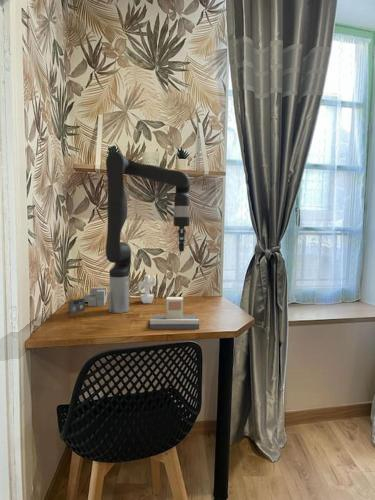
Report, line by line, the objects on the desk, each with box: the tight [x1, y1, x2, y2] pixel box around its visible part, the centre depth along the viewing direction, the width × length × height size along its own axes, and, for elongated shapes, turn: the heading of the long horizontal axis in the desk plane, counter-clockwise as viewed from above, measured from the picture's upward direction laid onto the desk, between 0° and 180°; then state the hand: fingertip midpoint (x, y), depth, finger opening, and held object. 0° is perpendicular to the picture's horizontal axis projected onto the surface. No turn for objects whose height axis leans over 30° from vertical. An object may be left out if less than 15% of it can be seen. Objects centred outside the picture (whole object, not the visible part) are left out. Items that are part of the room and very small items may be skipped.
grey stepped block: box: [82, 286, 108, 307], centre depth 165 cm, size 12×12×8 cm
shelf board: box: [149, 314, 200, 330], centre depth 132 cm, size 20×12×4 cm, turn 92°
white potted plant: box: [137, 274, 157, 304], centre depth 169 cm, size 7×9×15 cm
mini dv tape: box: [68, 297, 86, 315], centre depth 149 cm, size 8×2×6 cm, turn 148°
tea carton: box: [165, 296, 184, 319], centre depth 132 cm, size 5×7×9 cm, turn 92°
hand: (181, 250), depth 147 cm, fingers open, 8 cm apart
